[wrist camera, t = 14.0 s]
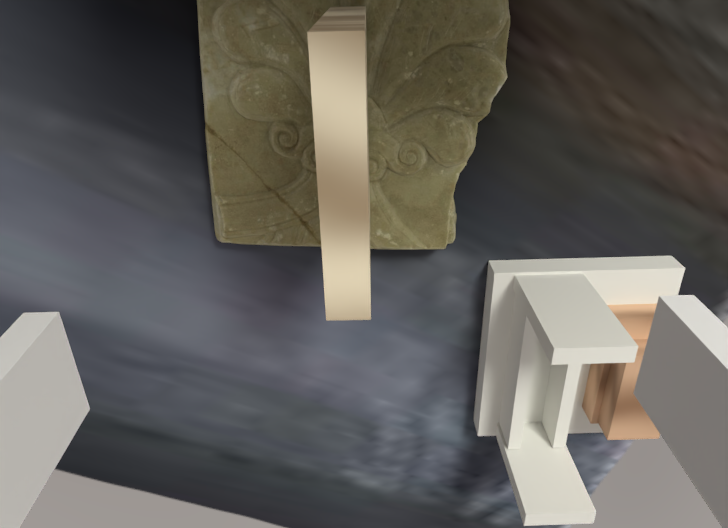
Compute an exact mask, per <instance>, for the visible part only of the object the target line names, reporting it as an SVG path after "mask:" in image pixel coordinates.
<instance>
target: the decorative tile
mask: <svg viewBox="0 0 728 528" xmlns="http://www.w3.org/2000/svg"><path fill="white" fill-rule="evenodd" d="M351 6H366V47H367V95H368V142H369V190H370V249H389V250H420V249H445V248H446V246H447V244H449V243H453V241H454V240H455V235H456V216H457V215H456V212H455V203H454V198H453V195H454V191H455V184H456V182H457V180H458V178H459V173H460V172H461V171H462V170H463V168H464V167H465V165H466V164H467V160H468V158H469V157H470V156H471V154H472V153H473V151H474V148H475V145H476V135H477V127H478V122H480V121H481V120H482V119H483V118H484V117H486V116H487V115H488V113H489V112H490V108H491V103H492V101H493V98H494V96H496V94H497V93H498V91H499V90H500V88H501V87H502V85H503V84H504V82H505V81H506V79H507V71H506V55H507V41H508V34H509V27H510V13H509V2H508V0H197V9H198V28H199V48H200V62H201V74H202V87H203V99H204V110H205V124H206V125H205V136H206V146H207V158H208V168H209V178H210V187H211V197H212V208H213V217H214V226H215V235H216V237H217V239H218V241H220V242H222V243H235V244H247V245H272V246H314V247H321V233H320V218H319V202H318V187H317V172H316V157H315V142H314V127H313V112H312V97H311V81H310V66H309V51H308V36H307V32H308V31H309V30H310V29H311V28H312V26H313V25H314V24H315V23H316V22H317V21H318V20H319V19H320V18H321V17H322V16H323V15H324V13H325V12H326V11H327V10H328V9H329V8H330V7H351Z"/></svg>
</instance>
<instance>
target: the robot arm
mask: <svg viewBox="0 0 728 528" xmlns="http://www.w3.org/2000/svg"><path fill="white" fill-rule="evenodd" d="M633 394H634V395H635V397H636V398H637V400H638V401H639V403H640V404H641V406H642V407H643V409H644V410H645V412H646V413H647V415H648V416H649V418H650V419H651V421H652V422H653V424H654V425H655V427H656V428H657V430H658V431H659V433H660V434H661V436H662V437H663V439H664V440H665V442H666V443H667V445H668V446H669V448H670V449H671V451H672V452H673V454H674V455H675V457H676V458H677V460H678V462H679V463H680V464H681V466H682V468H683V469H684V470H685V472H686V474H687V475H688V477H689V478H690V480H691V481H692V483H693V484H694V486H695V487H696V489H697V490H698V492H699V493H700V494H701V496H702V498H703V499H704V501H705V502H706V504H707V505H708V507H709V508H710V510H711V511H712V513H713V514H714V516H715V517H716V519H717V520H718V522H719V523H720V525H721V526H722V528H728V327H727V326H725V325H724V324H723V323H722V322H721V321H720V320H719V319H718V318H717V317H716V316H715V315H714V314H713V313H712V312H711V311H710V310H709V309H708V308H707V307H706V306H705V305H704V304H703V303H701V302H700V301H699V300H698V299H697V298H696V297H695V296H694V295H676V296H659V298H658V302H657V306H656V309H655V313H654V317H653V321H652V325H651V328H650V332H649V336H648V340H647V344H646V347H645V351H644V355H643V359H642V363H641V366H640V370H639V374H638V378H637V381H636V385H635V389H634V393H633ZM89 410H90V407H89V404H88V401H87V398H86V395H85V392H84V388H83V385H82V382H81V379H80V376H79V373H78V370H77V367H76V363H75V360H74V357H73V354H72V351H71V348H70V345H69V342H68V338H67V335H66V332H65V329H64V326H63V323H62V320H61V317H60V313H59V312H36V313H23V314H22V315H21V316H20V317H19V318H18V319H17V320H16V321H15V322H14V323H13V325H12V326H11V327H10V328H9V329H8V330H7V331H6V332H5V333H4V334H3V335H2V336H1V337H0V528H20V527H21V525H22V523H23V522H24V520H25V518H26V517H27V515H28V513H29V511H30V510H31V508H32V506H33V505H34V503H35V501H36V499H37V498H38V496H39V495H40V493H41V491H42V489H43V488H44V486H45V484H46V483H47V481H48V479H49V478H50V476H51V474H52V472H53V471H54V469H55V467H56V466H57V464H58V462H59V461H60V459H61V457H62V455H63V454H64V452H65V450H66V449H67V447H68V445H69V444H70V442H71V440H72V439H73V437H74V435H75V433H76V432H77V430H78V428H79V427H80V425H81V423H82V422H83V420H84V418H85V416H86V415H87V413H88V411H89Z"/></svg>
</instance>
